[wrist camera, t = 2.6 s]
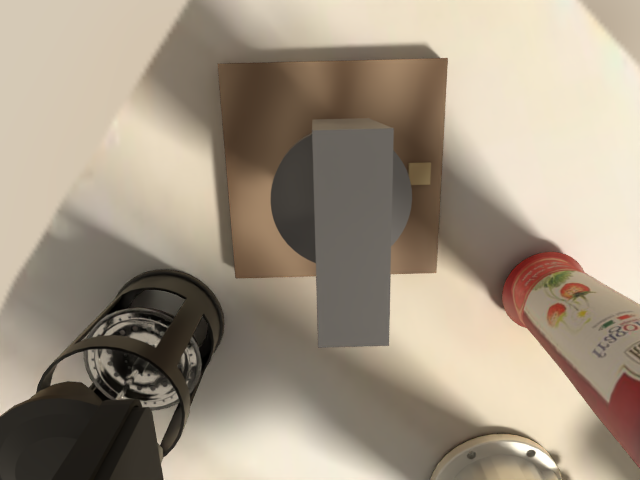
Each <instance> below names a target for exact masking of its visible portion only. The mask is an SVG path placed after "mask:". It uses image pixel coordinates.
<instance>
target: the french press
mask: <svg viewBox="0 0 640 480" xmlns="http://www.w3.org/2000/svg"><path fill="white" fill-rule="evenodd" d="M145 290H161V291H167V292H170V293H173V294H176V295H178V296H180V297H182V298H184V299H186V300H185V302H184V303H183V305H182V307H181V308H180V310H179V311H178V313H177V314H176V316H175V317H174V316H172V315H170V314H168V313H166V312H163V311H160V310H156V309H151V308H143V307H139V308H129V306H130V304H131V302H132V300H133V299H134V298H135V297H136V296H137V295H138V294H140V293H141V292H143V291H145ZM202 316H203V317H204V319H205V321H206V322H207V324H208V331H207V335H206V338H205V340H204V342H203V344H202V345H201V346H200V347H198V344H197V341H196V339H195V337H194V335H193V333H194V331H195V329H196V327H197V325H198V324H199V322H200V320H201V318H202ZM223 331H224V317H223V312H222V309H221V306H220V303H219V302H218V300H217V298H216V297H215V295H214V294H213V293H212V291H211V290H210V289H209V288H208V287H207V286H206V285H205V284H203V283H202V282H201V281H200V280H198V279H196V278H194V277H192V276H191V275H189V274H186V273H183V272H179V271H174V270H167V269H166V270H153V271H149V272H145V273H143V274H140V275H138V276H136V277H134V278H133V279H132V280H130V281H129V282H128V283H126V284H125V285H124V287H123V288H122V289H121V290H120V291H119V293H118V295H117V297H116V298H115V300H114V301H113V302H112V303H111V304H110V305H109V306H108V307H107V308H106V309H105V310H104V311H103V312H102V313H101V314H100V315H99V316H98V317H97V318H96V319H95V320H94V321H93V322H92V323H91V324H90V325H89V326H88V327H87V328H86V329H85V330H84V331H83V332H82V333H81V334H80V335H79V336H78V337H77V338H76V339H75V341H74V342H73V343H72V344H71V345H70V346H69V347H68V348H67V349H66V350H65V351H64V352H63V353H62V354H61V355H60V356H59V357H58V358H57V359H56V360H55V361H54V362H53V363H52V364H51V365H50V366H49V368H48V369H47V370H46V371H45V372H44V374H43V376H42V378H41V380H40V382H39V384H38V387H37V392H36V394H35V395H34V396H32V397H31V398H30V399H29V400H26V401H24V402H22V403H20V404H17V405H15V406H13V407H12V408H11V409H9V410H8V411H7V412H5V413H4V414H2V415H1V416H0V480H52V478H53V477H54V475H55V474H56V472H57V470H58V469H59V467H60V466H61V464H62V463H63V461H64V460H65V458H66V457H67V455H68V454H69V452H70V451H71V449H72V447H73V446H74V444H75V443H76V441H77V440H78V438H79V437H80V435H81V434H82V432H83V431H84V429H85V427H86V426H87V424H88V423H89V421H90V420H91V418H92V417H93V415H94V414H95V412H96V411H97V409H98V407H99V406H100V405H101V403H102V402H103V401H105V400H119V399H138V400H140V402H141V404H142V407H149V408H150V409H151V410H160V409H164V408H168V407H171V406H173V405H175V404H178V406H177V408H176V410H175V413H174V415H173V417H172V419H171V422H170V424H169V426H168V429H167V431H166V433H165V435H164V438H163V440H162V442H161V445H159V444H158V443H157V444H158V450H159V456H160V462H162V459H163V457H164V456H166V455H167V454H168V453H169V452H170V451H171V450H172V449H173V448H174V447H175V445H176V443H177V442H178V440H179V438H180V437H181V434H182V432H183V429H184V426H185V424H186V421H187V418H188V415H189V411H190V406H191V403H192V401H193V398H194V396H195V393H196V391H197V388H198V386H199V383H200V381H201V378H202V376H203V373H204V371H205V369H206V367H207V365H208V364H209V362H210V360H211V357H212V355H213V353H214V352H215V350H216V349H217V347H218V346H219V344H220V341H221V338H222V335H223ZM89 332H90V333H89ZM88 333H89V335H88V337H87V339H84V340H82V339H83V338H84V337H85V336H86V335H87V334H88ZM81 340H82V341H81ZM82 351H84V362H85V366H86V370H87V372H88V374H89V376H90V379H91V380H92V381H93V383H92V385H91V386H90V387H89V388H88V387H87V386H86V385H84V384H83V383H81V382H70V381H67V382H63V383H58V384H54V385H52V386H50V384H51V379H52V374H53V372H54V370H55V368H56V366H57V364H58V363H59V362H60V361H61V360H63V359H64V358H66V357H68V356H71V355H73V354H75V353H78V352H82Z"/></svg>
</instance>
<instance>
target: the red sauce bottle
mask: <svg viewBox="0 0 640 480" xmlns="http://www.w3.org/2000/svg"><path fill="white" fill-rule="evenodd" d="M502 301H503V305H504V309H505V311H506V313H507V315H508V316H509V317H510V318H511V319H512V320H513V321H514V322H515V323H517V324H518V325H520V326H522V327H525V328H527V329H528V330H529V331H530V332H531V333H532V335H533V336H534V337H535V338H536V339H537V340H538V342H539V343H540V344H541V345H542V346H543V348H544V349H545V350H546V351H547V353H548V354H549V355H550V356H551V357H552V359H553V360H554V361H555V362H556V364H557V365H558V366H559V367H560V368H561V370H562V371H563V372H564V373H565V375H566V376H567V377H568V379H569V380H570V381H571V383H572V384H573V385H574V387H575V388H576V389H577V391H578V392H579V393H580V394H581V396H582V397H583V398H584V400H585V401H586V402H587V404H588V405H589V406H590V408H591V409H592V410H593V412H594V413H595V414H596V415H597V417H598V418H599V419H600V420H601V422H602V423H603V424H604V425H605V426H606V428H607V429H608V430H609V431H610V432H611V434H612V435H613V436H614V437H615V439H616V440H617V441H618V442H619V443H620V445H621V446H622V447H623V448H624V450H625V451H626V452H627V453H628V454H629V456H630V457H631V458H632V460H633V461H634V462H635V463H636V465H637V466H638V467H639V468H640V305H639V304H638V303H636V302H634V301H632V300H631V299H629V298H627V297H625V296H624V295H622V294H620V293H618V292H617V291H615V290H613V289H611V288H610V287H608V286H606V285H604V284H603V283H601V282H599V281H598V280H596V279H594V278H593V277H591V276H589V275H588V274H586V273H585V272H584V271H583V268H582V267H581V266H580V264H579V263H578V262H577V261H576V260H574V259H573V258H572V257H570V256H568V255H566V254H562V253H558V252H544V253H539V254H536V255H533V256H531V257H529V258H527V259H525V260H523V261H522V262H521V263H519V264H518V265H517V266H516V267H515V268H514V269H513V270H512V271H511V273H510V274H509V276H508V277H507V279H506V282H505V284H504V287H503V293H502Z"/></svg>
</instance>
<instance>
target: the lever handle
mask: <svg viewBox="0 0 640 480" xmlns="http://www.w3.org/2000/svg"><path fill="white" fill-rule="evenodd" d="M393 140H394V128H392V127H389V126H387V125H384V124H382V123H379V122H377V121H374V120H372V119H369V118H355V119H316V120H312V133H310V134H308V135H306V136H304V137H303V138H302V139H300V140H299V141H298V142H296V143H295V144H294V145H293V146H292V147H291V148H290V149H289V151H288V152H287V153H286V154H285V156H284V158H283V159H282V161H281V163H280V165H279V167H278V169H277V171H276V173H275V176H274V179H273V183H272V188H271V211H272V215H273V219H274V222H275V225H276V227H277V229H278V231H279V233H280V235H281V236H282V238H283V239H284V240H285V242H286V243H287V244H288V245H289V246H290V247H291V248H292V249H293V250H294V251H295V252H297V253H298V254H299V255H300V256H302V257H304V258H306V259H307V260H309V261H312V262H314V263H316V285H317V320H318V348H322V347H357V346H389V317H390V273H391V246H392V245H393V244H394V243H395V242H396V241H397V239H398V238H399V236H400V235H401V234H402V232H403V230H404V228H405V226H406V224H407V221H408V219H409V215H410V211H411V205H412V188H411V182H410V179H409V175H408V172H407V170H406V168H405V166H404V164H403V162H402V161H401V159H400V158H399V156H398V155H397V154H396V153H395V151H394V150H393Z"/></svg>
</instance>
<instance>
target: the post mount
mask: <svg viewBox="0 0 640 480" xmlns="http://www.w3.org/2000/svg"><path fill="white" fill-rule="evenodd" d="M447 64H448V58H432V59H392V60H351V61H310V62H270V63H229V64H218V74H219V86H220V98H221V110H222V122H223V134H224V146H225V158H226V170H227V182H228V194H229V206H230V218H231V230H232V242H233V254H234V266H235V278H267V277H304V276H316V263H314V262H312V261H309V260H307V259H306V258H304V257H302V256H300V255H299V254H298V253H297V252H295V251H294V250H293V249H292V248H291V247H290V246H289V245H288V244H287V243H286V242H285V240H284V239H283V238H282V236H281V235H280V233H279V231H278V229H277V227H276V225H275V222H274V219H273V215H272V211H271V188H272V183H273V179H274V176H275V173H276V171H277V169H278V167H279V165H280V163H281V161H282V159H283V158H284V156H285V154H286V153H287V152H288V151H289V149H290V148H291V147H292V146H293V145H294V144H295V143H296V142H298V141H299V140H300V139H302V138H303V137H304V136H306V135H308V134H310V133H312V120H316V119H355V118H369V119H372V120H374V121H377V122H379V123H382V124H384V125H387V126H389V127H392V128H394V140H393V150H394V151H395V153H396V154H397V155H398V156H399V158H400V159H401V161H402V162H403V164H404V166H405V168H406V170H407V172H408V175H409V179H410V182H411V188H412V205H411V211H410V215H409V219H408V221H407V224H406V226H405V228H404V230H403V232H402V234H401V235H400V236H399V238H398V239H397V241H396V242H395V243H394V244H393V245H392V246H391V273H390V274H413V273H436V268H437V249H438V231H439V212H440V194H441V175H442V156H443V138H444V119H445V101H446V82H447Z"/></svg>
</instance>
